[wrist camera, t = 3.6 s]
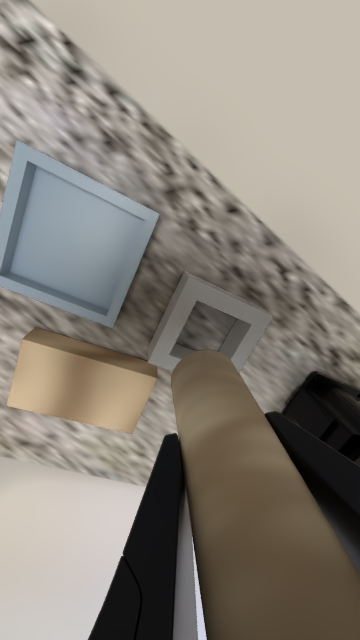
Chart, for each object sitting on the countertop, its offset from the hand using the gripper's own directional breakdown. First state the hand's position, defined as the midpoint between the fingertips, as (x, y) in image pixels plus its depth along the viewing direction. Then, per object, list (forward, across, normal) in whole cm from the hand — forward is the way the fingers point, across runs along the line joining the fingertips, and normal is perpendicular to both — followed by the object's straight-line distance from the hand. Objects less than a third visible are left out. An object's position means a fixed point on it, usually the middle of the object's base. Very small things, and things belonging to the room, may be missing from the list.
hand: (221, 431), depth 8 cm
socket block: (+12, -2, +2) cm, 13 cm away
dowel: (+3, 0, 0) cm, 3 cm away
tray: (+12, +6, -6) cm, 15 cm away
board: (+13, +9, +4) cm, 16 cm away
